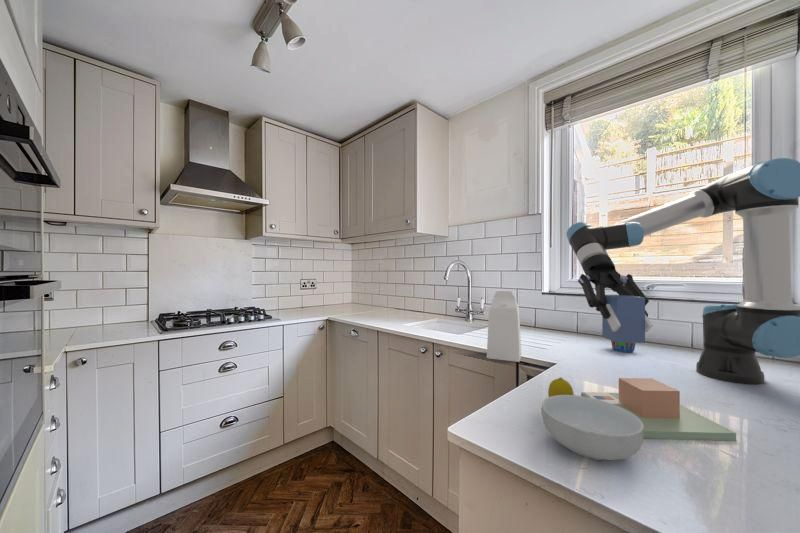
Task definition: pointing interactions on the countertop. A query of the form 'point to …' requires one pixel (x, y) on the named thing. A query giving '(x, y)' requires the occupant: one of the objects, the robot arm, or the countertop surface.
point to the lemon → (560, 388)
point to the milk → (504, 328)
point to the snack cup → (623, 346)
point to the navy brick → (626, 319)
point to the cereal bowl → (592, 427)
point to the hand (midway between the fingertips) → (632, 328)
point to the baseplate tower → (662, 411)
